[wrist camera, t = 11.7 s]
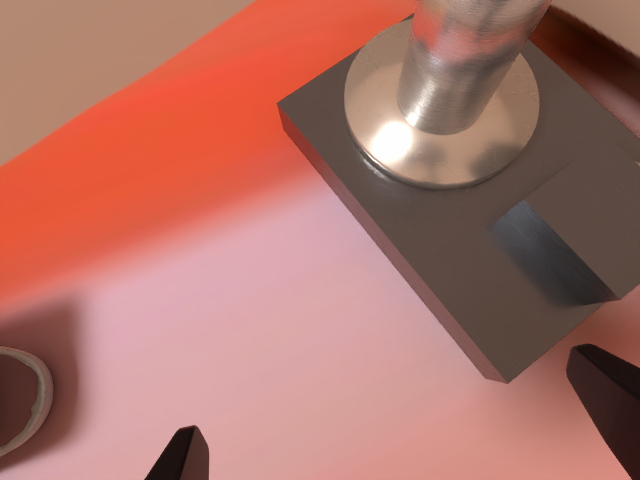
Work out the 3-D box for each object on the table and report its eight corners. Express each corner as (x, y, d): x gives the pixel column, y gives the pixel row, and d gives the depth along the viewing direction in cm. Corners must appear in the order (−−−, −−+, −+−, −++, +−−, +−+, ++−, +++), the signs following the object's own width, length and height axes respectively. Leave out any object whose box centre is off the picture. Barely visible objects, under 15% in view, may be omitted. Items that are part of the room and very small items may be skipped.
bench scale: (670, 225, 24) (768, 189, 18) (485, 378, 22) (534, 389, 16) (450, 17, 28) (476, -60, 23) (283, 129, 26) (269, 74, 21)
